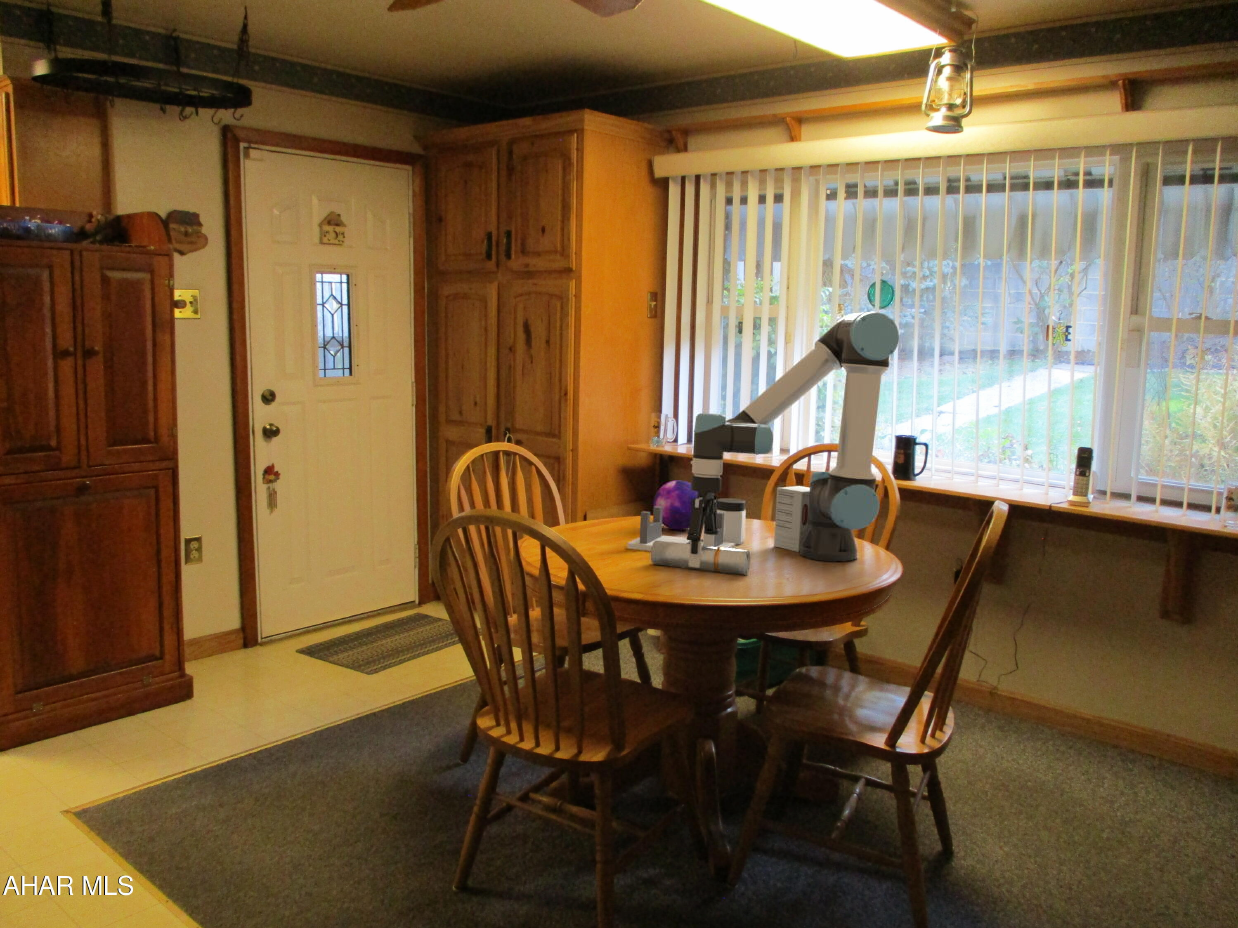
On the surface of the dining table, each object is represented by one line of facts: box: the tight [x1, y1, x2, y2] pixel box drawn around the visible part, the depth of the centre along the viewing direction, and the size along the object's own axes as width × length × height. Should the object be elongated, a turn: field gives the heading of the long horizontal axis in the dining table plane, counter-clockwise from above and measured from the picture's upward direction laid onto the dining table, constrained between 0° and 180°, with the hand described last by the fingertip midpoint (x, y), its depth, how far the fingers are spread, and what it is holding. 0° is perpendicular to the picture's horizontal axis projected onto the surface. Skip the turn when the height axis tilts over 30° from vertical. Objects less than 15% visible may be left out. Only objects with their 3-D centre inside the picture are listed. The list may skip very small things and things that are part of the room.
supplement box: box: [773, 485, 810, 553], centre depth 268 cm, size 10×9×17 cm
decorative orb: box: [653, 479, 698, 531], centre depth 290 cm, size 15×15×15 cm
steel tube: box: [650, 540, 751, 576], centre depth 238 cm, size 24×6×6 cm
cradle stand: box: [626, 506, 736, 552], centre depth 262 cm, size 26×15×10 cm, turn 68°
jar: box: [717, 497, 747, 545], centre depth 274 cm, size 9×8×12 cm
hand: (701, 563), depth 241 cm, fingers open, 10 cm apart
